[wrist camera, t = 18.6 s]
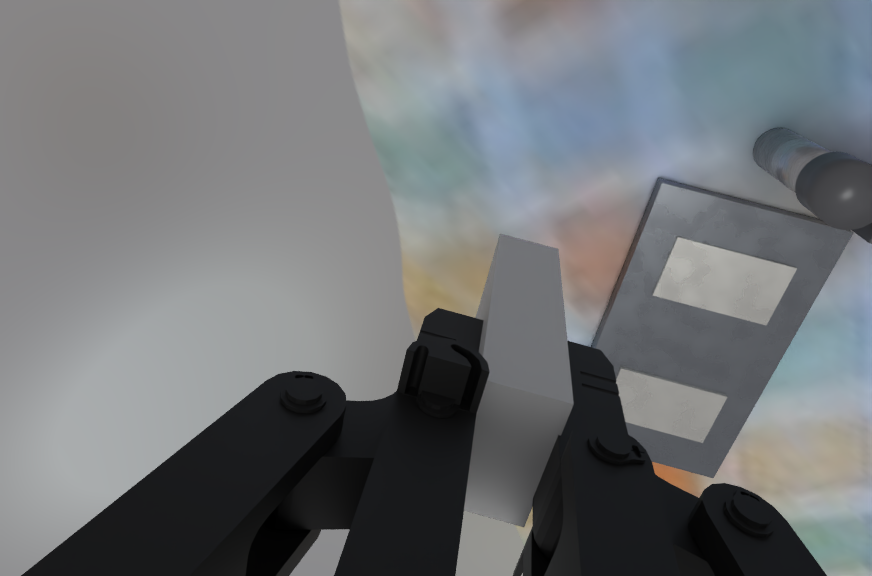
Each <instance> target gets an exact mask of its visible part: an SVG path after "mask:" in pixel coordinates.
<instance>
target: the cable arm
mask: <svg viewBox="0 0 872 576" xmlns="http://www.w3.org/2000/svg"><path fill="white" fill-rule="evenodd" d="M795 191H796V196H797V198H798V200H799V202H800V203H801V204H802V205H803V206H804V207H806V208H807V209H808V210H810V211H811V212H812V213H814V214H815V215H816V216H817V217H819V218H820V219H821V220H823V221H824V222H825V223H826V224H828V225H829V226H831V227H833V228H836V229H840V230H852V231H853V232H855V233H856V234H858V235H859V236H860V237H862V238H863V239H864V240H866V241H867V242H868V243H871V244H872V165H870V164H868V163H866V162H864V161H862V160H860V159H858V158H856V157H854V156H852V155H850V154H847V153H844V152H828V153H825V154H822V155H819V156H817V157H815V158H814V159H812V160H811V161H810V162H808V163H807V164H806V165H805V166H804V167H803V169H802V170H801V171H800V173H799V175H798V177H797V180H796V184H795Z"/></svg>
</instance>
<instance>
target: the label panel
mask: <svg viewBox="0 0 872 576" xmlns="http://www.w3.org/2000/svg"><path fill="white" fill-rule="evenodd" d="M828 152H831V151H829V150H827V149H825V148H823V147H822V146H820V145H818V144H816V143H814V142H812V141H810V140H808V139H806V138H804V137H802V136H800V135H798V134H796V133H794V132H793V131H791V130H789V129H786V128H775V129H771V130H769V131H767V132H765V133H764V134H763V135H761V136H760V137H759V139H758V140H757V141H756V143H755V146H754V149H753V157H754V160H755V162H756V163H757V164H758V165H759V166H760V167H761V168H763V169H764V170H765V171H767V172H768V173H769V174H771V175H772V176H773V177H775V178H776V179H777V180H779V181H780V182H781V183H783V184H784V185H785V186H787V187H788V188H790V189H791V190H792V191H794V192H795V193H796V191H795V184H796V180H797V177H798V175H799V173H800V171H801V170H802V169H803V167H804V166H805V165H806V164H807V163H808V162H810V161H811V160H812V159H814V158H815V157H817V156H819V155H822V154H825V153H828ZM852 234H853V232H852V231H851V230H840V229H836V228H833V227H831V226H829V225H828V224H826V223H825V222H824V221H823V220H820V219H816V218H812V217H809V216H805V215H801V214H797V213H793V212H789V211H785V210H781V209H778V208H774V207H770V206H766V205H762V204H758V203H754V202H750V201H747V200H743V199H739V198H735V197H731V196H727V195H723V194H720V193H716V192H712V191H708V190H704V189H700V188H696V187H692V186H689V185H685V184H681V183H677V182H673V181H669V180H665V179H662V178H658V180H657V183H656V185H655V188H654V190H653V193H652V195H651V198H650V200H649V203H648V205H647V208H646V210H645V213H644V215H643V218H642V220H641V223H640V225H639V228H638V230H637V233H636V235H635V238H634V240H633V243H632V245H631V248H630V250H629V253H628V255H627V258H626V260H625V263H624V265H623V268H622V271H621V273H620V276H619V278H618V281H617V283H616V286H615V288H614V291H613V293H612V296H611V298H610V301H609V303H608V306H607V308H606V311H605V313H604V316H603V318H602V321H601V323H600V326H599V328H598V331H597V333H596V336H595V338H594V341H593V343H592V346H591V347H592V348H596V349H599V350H601V351H602V352H603V353H604V355H605V356H606V357H607V358H608V360H609V361H610V362H611V363H612V365H613V367H614V372H615V376H616V384H617V385H618V390H619V396H620V399H621V404H622V408H623V413H624V418H625V422H626V427H627V431H628V435H630V436H632V437H633V438H635V439H636V440H637V441H638V442H639V443H640V444H641V445H642V446H643V447H644V448H645V449H646V451H647V453H648V455H649V457H650V459H651V461H652V462H656V463H660V464H663V465H667V466H671V467H674V468H678V469H682V470H685V471H689V472H693V473H696V474H700V475H704V476H707V477H711V478H714V476H715V474H716V473H717V471H718V469H719V467H720V466H721V464H722V462H723V460H724V459H725V457H726V455H727V453H728V452H729V450H730V448H731V446H732V445H733V443H734V441H735V439H736V438H737V436H738V434H739V432H740V431H741V429H742V427H743V425H744V423H745V422H746V420H747V418H748V416H749V415H750V413H751V411H752V409H753V408H754V406H755V404H756V402H757V401H758V399H759V397H760V395H761V394H762V392H763V390H764V388H765V387H766V385H767V383H768V381H769V380H770V378H771V376H772V374H773V373H774V371H775V369H776V367H777V366H778V364H779V362H780V360H781V359H782V357H783V355H784V353H785V352H786V350H787V348H788V346H789V345H790V343H791V341H792V339H793V338H794V336H795V334H796V332H797V331H798V329H799V327H800V325H801V324H802V322H803V320H804V318H805V317H806V315H807V313H808V311H809V310H810V308H811V306H812V304H813V303H814V301H815V299H816V297H817V296H818V294H819V292H820V290H821V289H822V287H823V285H824V283H825V282H826V280H827V278H828V276H829V275H830V273H831V271H832V269H833V268H834V266H835V264H836V262H837V261H838V259H839V257H840V255H841V254H842V252H843V250H844V248H845V247H846V245H847V243H848V241H849V240H850V238H851V236H852Z"/></svg>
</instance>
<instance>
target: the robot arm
mask: <svg viewBox="0 0 872 576" xmlns="http://www.w3.org/2000/svg"><path fill="white" fill-rule="evenodd" d="M532 506H533V527H532V529H531V532H530V534H529V536H528V539H527V541H526V544H525V546H524V549H523V551H522V553H521V556H520V558H519V561H518V563H517V566H516V568H515V570H514V573H513V576H521V574H522V573H523V576H827V575H826V574H825V572H824V571H823V570H822V568H821V567H820V566H819V564H818V563H817V561H816V560H815V559H814V557H813V556H812V555H811V553H810V552H809V551H808V549H807V548H806V547H805V545H804V544H803V542H802V541H801V540H800V538H799V537H798V536H797V534H796V533H795V532H794V530H793V529H792V527H791V526H790V525H789V523H788V522H787V521H786V520H785V518H784V517H783V516H782V515H781V514H780V513H779V512H778V511H777V510H776V509H775V508H774V507H773V506H772V505H770V504H769V503H768V502H766V501H765V500H763V499H762V498H761V497H760V496H758V495H756V494H754V493H753V492H750V491H748V490H746V489H744V488H742V487H738V486H734V485H730V484H726V483H722V484H712V485H710V486H709V487H707V488H706V489H705V490H704V491H703V493H702V494H701V496H700V498H698V497H696V496H694V495H692V494H690V493H688V492H686V491H684V490H682V489H680V488H678V487H676V486H674V485H672V484H670V483H668V482H666V481H665V480H663V479H661V478H660V477H658V476H657V475H655V473H654V469H653V465H652V461H651V459H650V457H649V455H648V453H647V451H646V449H645V448H644V447H643V446H642V445H641V444H640V443H639V442H638V441H637V440H636V439H635V438H633V437H632V436H630V435H628V431H627V427H626V422H625V418H624V413H623V408H622V404H621V399H620V396H619V390H618V385H617V384H616V376H615V372H614V367H613V365H612V363H611V362H610V361H609V360H608V358H607V357H606V356H605V355H604V353H603V352H602V351H601V350H599V349H596V348H592V347H588V346H584V345H581V344H577V343H573V342H570V341H567V332H566V322H565V312H564V302H563V292H562V282H561V272H560V262H559V251H558V249H557V248H553V247H549V246H545V245H541V244H538V243H534V242H530V241H526V240H522V239H519V238H515V237H511V236H507V235H503V234H500V236H499V239H498V243H497V246H496V250H495V253H494V257H493V260H492V264H491V267H490V270H489V274H488V277H487V281H486V284H485V288H484V291H483V294H482V298H481V301H480V305H479V308H478V312H477V315H476V318H473V317H470V316H466V315H462V314H458V313H455V312H451V311H447V310H443V309H440V308H438V309H436V310H435V311H433V312H432V313H430V314H429V315H427V316H426V317H425V318H424V321H423V324H422V327H421V330H420V333H419V336H418V339H417V341H415V342H413V343H412V344H411V345H410V346H409V348H408V349H407V351H406V355H405V359H404V364H403V368H402V372H401V376H400V381H399V385H398V389H397V391H396V392H395V393H394V394H392V395H390V396H388V397H386V398H383V399H379V400H374V401H346V395H345V393H344V391H343V390H342V389H341V387H340V386H339V385H338V384H337V383H335V382H334V381H332V380H331V379H329V378H327V377H325V376H322V375H319V374H316V373H312V372H300V371H292V372H287V373H282V374H278V375H276V376H274V377H272V378H270V379H268V380H267V381H265V382H264V383H263V384H261V385H260V386H259V387H258V388H256V389H255V390H254V391H253V392H251V393H250V394H249V395H248V396H246V397H245V398H244V399H243V400H241V401H240V402H239V403H237V404H236V405H235V406H234V407H233V408H231V409H230V410H229V411H227V412H226V413H225V414H224V415H223V416H221V417H220V418H219V419H217V420H216V421H215V422H214V423H212V424H211V425H210V426H209V427H207V428H206V429H205V430H204V431H202V432H201V433H200V434H199V435H197V436H196V437H195V438H194V439H192V440H191V441H190V442H189V443H187V444H186V445H185V446H183V447H182V448H181V449H180V450H178V451H177V452H176V453H175V454H174V455H172V456H171V457H170V458H169V459H167V460H166V461H165V462H163V463H162V464H161V465H160V466H158V467H157V468H156V469H155V470H153V471H152V472H151V473H150V474H148V475H147V476H146V477H145V478H143V479H142V480H141V481H140V482H138V483H137V484H136V485H135V486H133V487H132V488H131V489H130V490H128V491H127V492H126V493H124V494H123V495H122V496H121V497H119V498H118V499H117V500H116V501H114V502H113V503H112V504H111V505H109V506H108V507H107V508H106V509H104V510H103V511H102V512H101V513H99V514H98V515H97V516H96V517H94V518H93V519H92V520H91V521H89V522H88V523H87V524H86V525H85V526H83V527H82V528H81V529H79V530H78V531H77V532H75V533H74V534H73V535H72V536H70V537H69V538H68V539H67V540H65V541H64V542H63V543H62V544H61V545H59V546H58V547H57V548H55V549H54V550H53V551H52V552H50V553H49V554H48V555H47V556H45V557H44V558H43V559H42V560H40V561H39V562H38V563H37V564H35V565H34V566H33V567H32V568H30V569H29V570H28V571H26V572H25V573H24V574H23V575H21V576H289V575H290V574H291V572H292V571H293V570H294V568H295V567H296V566H297V564H298V563H299V562H300V560H301V559H302V558H303V556H304V555H305V554H306V553H307V551H308V550H309V549H310V547H311V546H312V544H313V543H314V542H315V541H316V539H317V538H318V536H319V534H320V531H321V529H350V531H349V534H348V536H347V539H346V543H345V545H344V549H343V551H342V554H341V557H340V560H339V563H338V566H337V569H336V572H335V575H334V576H455V573H456V565H457V558H458V550H459V543H460V535H461V528H462V520H463V512H464V511H468V512H472V513H475V514H478V515H482V516H486V517H489V518H493V519H496V520H500V521H504V522H507V523H511V524H514V525H518V526H522V527H524V526H525V523H526V521H527V519H528V516H529V514H530V511H531V509H532Z"/></svg>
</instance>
